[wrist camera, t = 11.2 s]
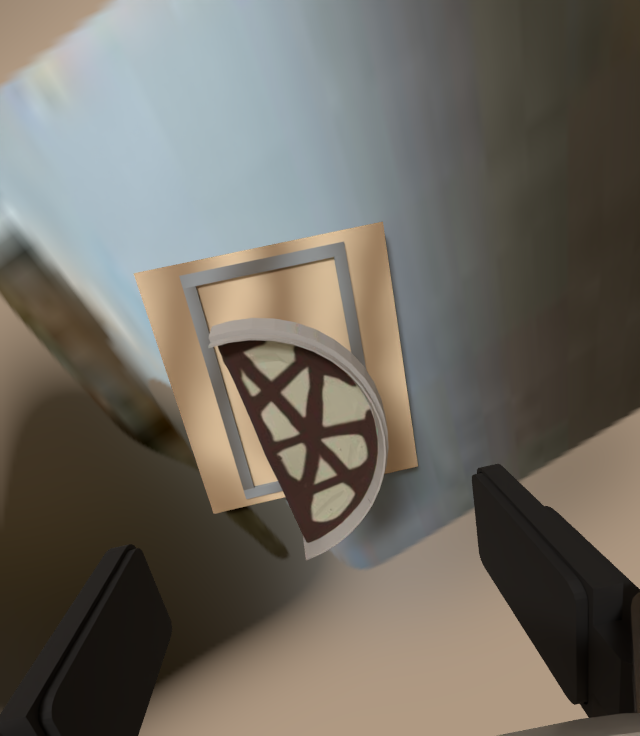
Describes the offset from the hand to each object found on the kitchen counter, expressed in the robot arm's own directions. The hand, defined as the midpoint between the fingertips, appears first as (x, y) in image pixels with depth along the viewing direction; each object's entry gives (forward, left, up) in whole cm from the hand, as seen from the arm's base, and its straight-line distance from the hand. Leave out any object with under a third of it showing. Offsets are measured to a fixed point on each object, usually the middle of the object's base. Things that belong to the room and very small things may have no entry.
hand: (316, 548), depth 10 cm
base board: (0, 0, -18) cm, 18 cm away
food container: (-1, 0, -16) cm, 16 cm away
